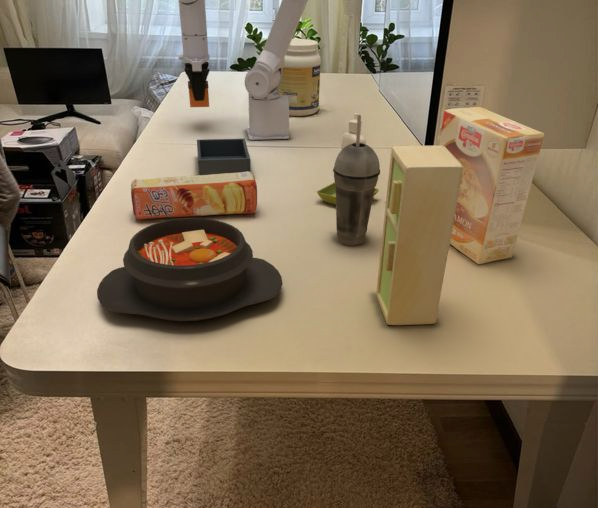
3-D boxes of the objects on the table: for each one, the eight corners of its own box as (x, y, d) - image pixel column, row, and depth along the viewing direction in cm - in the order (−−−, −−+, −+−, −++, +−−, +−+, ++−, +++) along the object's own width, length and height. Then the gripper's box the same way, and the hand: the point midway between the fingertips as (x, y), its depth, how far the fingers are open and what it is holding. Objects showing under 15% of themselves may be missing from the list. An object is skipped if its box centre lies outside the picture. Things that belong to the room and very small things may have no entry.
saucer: (340, 188, 116) (340, 178, 115) (379, 199, 112) (380, 188, 111) (315, 202, 111) (315, 191, 109) (355, 214, 107) (356, 203, 105)
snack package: (134, 224, 101) (128, 185, 97) (135, 208, 106) (130, 171, 102) (258, 217, 104) (257, 180, 100) (254, 203, 110) (253, 166, 106)
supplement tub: (319, 117, 157) (322, 46, 147) (273, 116, 157) (272, 44, 147) (318, 105, 167) (321, 38, 157) (275, 104, 166) (275, 36, 156)
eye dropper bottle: (360, 169, 126) (365, 109, 118) (363, 178, 121) (369, 117, 114) (339, 169, 125) (343, 109, 118) (342, 178, 121) (346, 117, 114)
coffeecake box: (423, 226, 103) (442, 108, 91) (458, 220, 105) (480, 105, 94) (477, 265, 92) (506, 137, 80) (513, 258, 94) (547, 132, 83)
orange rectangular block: (209, 102, 145) (207, 80, 142) (209, 107, 142) (208, 84, 139) (189, 103, 145) (187, 80, 142) (189, 107, 141) (187, 85, 138)
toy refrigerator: (369, 294, 84) (386, 144, 72) (420, 293, 85) (445, 144, 72) (380, 326, 78) (400, 167, 65) (435, 325, 78) (466, 167, 66)
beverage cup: (377, 234, 100) (391, 109, 88) (367, 252, 95) (380, 122, 83) (335, 227, 102) (343, 104, 90) (323, 244, 96) (330, 116, 85)
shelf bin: (245, 156, 130) (244, 138, 128) (250, 178, 120) (250, 158, 117) (198, 158, 129) (196, 139, 127) (199, 180, 118) (197, 160, 116)
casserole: (94, 342, 73) (81, 282, 68) (104, 270, 88) (93, 216, 83) (293, 324, 78) (294, 267, 73) (271, 258, 92) (270, 206, 87)
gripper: (176, 29, 140) (182, 90, 148) (175, 39, 128) (182, 106, 136) (207, 29, 140) (211, 90, 148) (209, 39, 129) (213, 105, 137)
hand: (199, 97), depth 142 cm, fingers closed on orange rectangular block, 4 cm apart
